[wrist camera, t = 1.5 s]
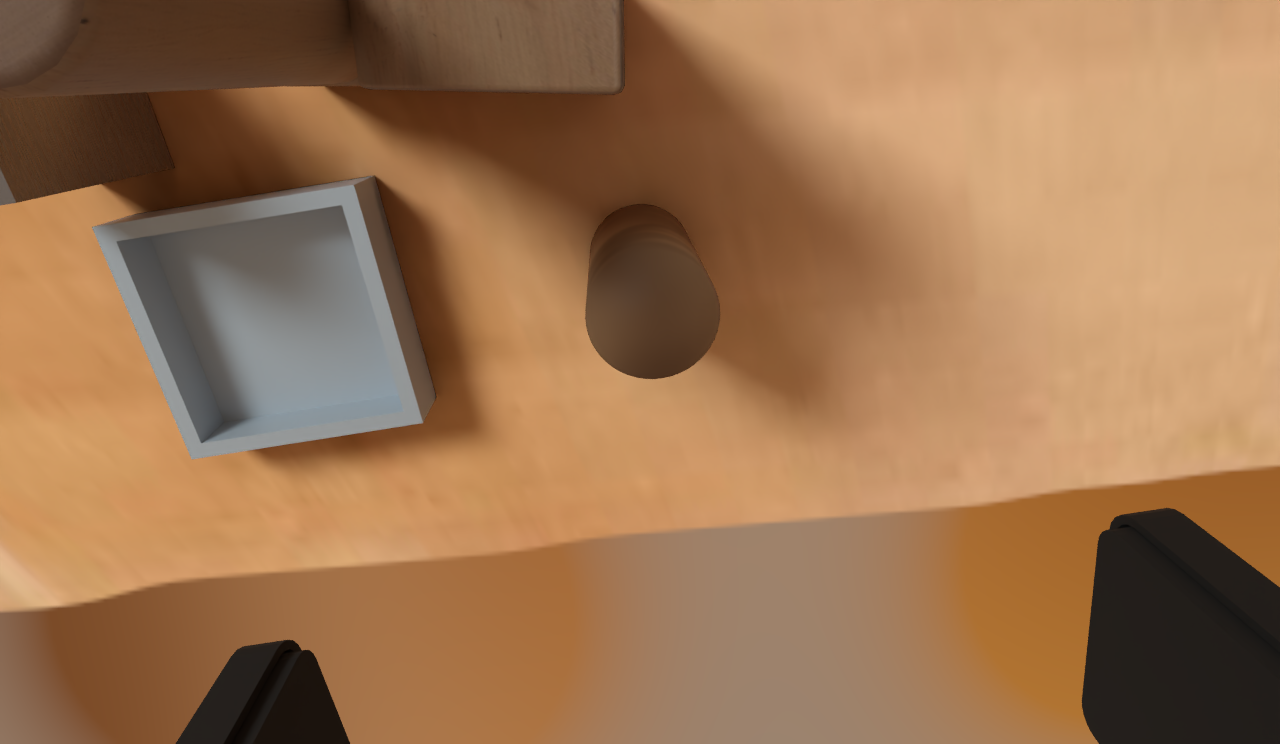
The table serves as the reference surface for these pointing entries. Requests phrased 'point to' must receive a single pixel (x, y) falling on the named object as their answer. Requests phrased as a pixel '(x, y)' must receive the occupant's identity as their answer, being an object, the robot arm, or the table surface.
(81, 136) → the rectangular block
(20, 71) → the wooden blocks
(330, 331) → the tray
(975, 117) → the table surface
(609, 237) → the dowel
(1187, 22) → the table surface
